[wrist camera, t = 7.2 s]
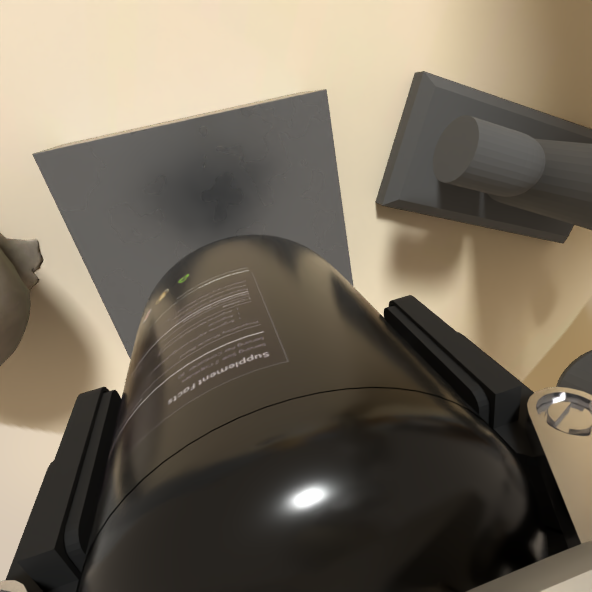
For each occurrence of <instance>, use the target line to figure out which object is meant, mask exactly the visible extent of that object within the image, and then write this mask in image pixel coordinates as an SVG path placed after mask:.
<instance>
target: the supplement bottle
mask: <svg viewBox="0 0 592 592" xmlns="http://www.w3.org/2000/svg"><path fill="white" fill-rule="evenodd" d="M548 557H549V551H548V540H547V533H546V526H545V522H544V518H543V514H542V511H541V507H540V504H539V501H538V498H537V495H536V492H535V489H534V487H533V485H532V482H531V481H530V479H529V477H528V475H527V473H526V471H525V469H524V467H523V466H522V464H521V463H520V461H519V460H518V459H517V457H516V456H515V455H514V453H513V452H512V451H511V450H510V448H509V447H508V446H507V445H506V444H505V442H504V441H503V440H502V439H501V438H500V437H499V436H498V435H497V434H496V433H495V431H494V430H493V429H492V428H491V427H490V426H489V425H488V424H487V422H486V421H485V420H484V419H483V418H482V417H481V416H480V415H479V414H478V413H477V412H476V411H475V410H474V409H473V408H472V407H471V406H470V405H469V404H468V403H467V402H466V401H465V400H464V399H463V398H462V397H461V396H460V395H459V394H458V393H457V392H456V391H455V390H454V389H453V388H452V387H451V386H450V385H449V384H448V383H447V382H446V381H445V380H444V379H443V378H442V376H441V375H440V374H439V373H438V372H437V371H436V370H435V369H434V368H433V367H432V366H431V365H430V364H429V363H428V362H427V361H426V360H425V359H424V358H423V357H422V356H421V355H420V354H419V353H418V352H417V351H416V350H415V349H414V348H413V347H412V346H411V345H410V344H409V343H408V342H407V341H406V340H405V339H404V338H403V337H402V336H401V335H400V334H399V333H398V332H397V331H396V330H395V329H394V328H393V327H392V326H391V325H390V324H389V323H388V321H387V320H386V319H385V318H384V317H383V316H382V315H381V314H380V313H379V312H378V311H377V310H376V309H375V308H374V307H373V306H372V305H371V304H370V303H369V302H368V301H367V300H366V299H365V298H364V297H363V296H362V295H361V294H360V293H359V292H358V291H357V290H356V289H355V288H354V287H353V286H352V285H351V284H350V283H349V282H348V281H347V280H346V279H345V278H344V277H343V276H342V275H341V274H340V273H339V272H338V271H337V270H336V269H335V268H334V267H333V266H332V265H331V264H330V263H329V262H328V261H326V260H325V259H324V258H323V257H321V256H320V255H319V254H317V253H316V252H314V251H313V250H311V249H309V248H308V247H306V246H304V245H302V244H299V243H297V242H294V241H292V240H289V239H285V238H281V237H277V236H270V235H256V234H255V235H240V236H234V237H229V238H225V239H221V240H218V241H215V242H212V243H209V244H207V245H205V246H203V247H200V248H198V249H197V250H195V251H193V252H191V253H190V254H188V255H187V256H185V257H184V258H182V259H181V260H180V261H178V262H177V263H176V264H175V265H174V266H173V267H172V268H170V269H169V271H168V272H167V273H166V274H165V275H164V276H163V277H162V278H161V280H160V281H159V282H158V284H157V285H156V286H155V288H154V290H153V291H152V293H151V295H150V297H149V299H148V301H147V303H146V306H145V308H144V311H143V314H142V317H141V320H140V324H139V328H138V331H137V335H136V339H135V343H134V348H133V352H132V356H131V361H130V365H129V369H128V373H127V378H126V382H125V386H124V391H123V395H122V399H121V404H120V408H119V412H118V417H117V421H116V425H115V429H114V434H113V438H112V442H111V447H110V451H109V455H108V460H107V464H106V468H105V473H104V477H103V481H102V485H101V490H100V494H99V498H98V503H97V507H96V511H95V516H94V520H93V524H92V529H91V533H90V537H89V542H88V546H87V550H86V555H85V559H84V564H83V568H82V573H81V579H80V584H79V590H78V592H466V591H469V590H471V589H473V588H476V587H478V586H481V585H483V584H485V583H488V582H490V581H492V580H495V579H497V578H500V577H502V576H504V575H507V574H509V573H512V572H514V571H516V570H519V569H521V568H524V567H526V566H528V565H531V564H533V563H536V562H538V561H540V560H543V559H545V558H548Z"/></svg>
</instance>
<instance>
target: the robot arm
mask: <svg viewBox="0 0 592 592" xmlns="http://www.w3.org/2000/svg"><path fill="white" fill-rule="evenodd" d="M384 318H385V319H386V320H387V321H388V323H389V324H390V325H391V326H392V327H393V328H394V329H395V330H396V331H397V332H398V333H399V334H400V335H401V336H402V337H403V338H404V339H405V340H406V341H407V342H408V343H409V344H410V345H411V346H412V347H413V348H414V349H415V350H416V351H417V352H418V353H419V354H420V355H421V356H422V357H423V358H424V359H425V360H426V361H427V362H428V363H429V364H430V365H431V366H432V367H433V368H434V369H435V370H436V371H437V372H438V373H439V374H440V375H441V376H442V378H443V379H444V380H445V381H446V382H447V383H448V384H449V385H450V386H451V387H452V388H453V389H454V390H455V391H456V392H457V393H458V394H459V395H460V396H461V397H462V398H463V399H464V400H465V401H466V402H467V403H468V404H469V405H470V406H471V407H472V408H473V409H474V410H475V411H476V412H477V413H478V414H479V415H480V416H481V417H482V418H483V419H484V420H485V421H486V422H487V424H488V425H489V426H490V427H491V428H492V429H493V430H494V431H495V433H496V434H497V435H498V436H499V437H500V438H501V439H502V440H503V441H504V442H505V444H506V445H507V446H508V447H509V448H510V450H511V451H512V452H513V453H514V455H515V456H516V457H517V459H518V460H519V461H520V463H521V464H522V466H523V467H524V469H525V471H526V473H527V475H528V477H529V479H530V481H531V482H532V485H533V487H534V489H535V492H536V495H537V498H538V501H539V504H540V507H541V511H542V514H543V518H544V522H545V526H546V533H547V540H548V551H549V557H548V558H545V559H543V560H540V561H538V562H536V563H533V564H531V565H528V566H526V567H524V568H521V569H519V570H516V571H514V572H512V573H509V574H507V575H504V576H502V577H500V578H497V579H495V580H492V581H490V582H488V583H485V584H483V585H481V586H478V587H476V588H473V589H471V590H469V591H466V592H592V395H590V394H588V393H586V392H583V391H580V390H576V389H572V388H564V387H551V388H544V389H542V390H539V391H536V392H535V393H534V392H533V391H531V390H530V389H529V388H528V387H527V386H525V385H524V384H523V383H522V382H520V381H519V380H518V379H517V378H515V377H514V376H513V375H512V374H511V373H509V372H508V371H507V370H506V369H504V368H503V367H502V366H501V365H499V364H498V363H497V362H496V361H494V360H493V359H492V358H491V357H490V356H488V355H487V354H486V353H485V352H483V351H482V350H481V349H480V348H478V347H477V346H476V345H475V344H473V343H472V342H471V341H470V340H469V339H467V338H466V337H465V336H464V335H462V334H460V333H459V332H456V331H455V330H454V329H453V328H451V327H450V326H449V325H448V324H446V323H445V322H444V321H443V320H442V319H440V318H439V317H438V316H437V315H435V314H434V313H433V312H432V311H431V310H429V309H428V308H427V307H426V306H424V305H423V304H422V303H421V302H419V301H418V300H417V299H416V298H415V297H413V296H412V295H409V296H405V297H402V298H399V299H395V300H392V301H390V302H389V307H387V308H385V309H384ZM120 404H121V398H120V396H119V394H118V392H117V391H116V390H112V391H109V390H108V389H107V388H106V387H102V388H98V389H95V390H92V391H88V392H85V393H82V394H80V395H79V396H78V397H77V400H76V402H75V405H74V408H73V411H72V413H71V416H70V419H69V421H68V424H67V427H66V430H65V432H64V435H63V438H62V441H61V443H60V446H59V449H58V452H57V454H56V457H55V460H54V461H53V462H52V463H51V464H50V465H49V467H48V469H47V472H46V474H45V477H44V480H43V482H42V485H41V488H40V491H39V493H38V496H37V499H36V501H35V504H34V506H33V509H32V512H31V514H30V517H29V520H28V522H27V525H26V527H25V530H24V533H23V535H22V538H21V541H20V543H19V546H18V549H17V551H16V554H15V557H14V559H13V562H12V564H11V567H10V570H9V573H8V575H7V578H6V580H4V581H1V582H0V592H78V590H79V584H80V579H81V573H82V568H83V564H84V559H85V555H86V550H87V546H88V542H89V537H90V533H91V529H92V524H93V520H94V516H95V511H96V507H97V503H98V498H99V494H100V490H101V485H102V481H103V477H104V473H105V468H106V464H107V460H108V455H109V451H110V447H111V442H112V438H113V434H114V429H115V425H116V421H117V417H118V412H119V408H120Z"/></svg>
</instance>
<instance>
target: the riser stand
mask: <svg viewBox="0 0 592 592" xmlns="http://www.w3.org/2000/svg"><path fill="white" fill-rule="evenodd" d="M33 156H34V159H35V161H36V163H37V165H38V167H39V169H40V171H41V173H42V175H43V177H44V179H45V182H46V184H47V186H48V188H49V190H50V192H51V194H52V196H53V198H54V200H55V202H56V205H57V207H58V209H59V211H60V213H61V215H62V217H63V219H64V221H65V223H66V225H67V228H68V230H69V232H70V234H71V236H72V238H73V240H74V242H75V244H76V246H77V248H78V251H79V253H80V255H81V257H82V259H83V261H84V263H85V265H86V267H87V269H88V271H89V274H90V276H91V278H92V280H93V282H94V284H95V286H96V288H97V290H98V292H99V294H100V297H101V299H102V301H103V303H104V305H105V307H106V309H107V311H108V313H109V315H110V317H111V319H112V322H113V324H114V326H115V328H116V330H117V332H118V334H119V336H120V338H121V340H122V342H123V345H124V347H125V349H126V351H127V353H128V355H129V357H130V359H131V356H132V352H133V348H134V343H135V339H136V335H137V331H138V328H139V324H140V320H141V317H142V314H143V311H144V308H145V306H146V303H147V301H148V299H149V297H150V295H151V293H152V291H153V290H154V288H155V286H156V285H157V284H158V282H159V281H160V280H161V278H162V277H163V276H164V275H165V274H166V273H167V272H168V271H169V269H170V268H172V267H173V266H174V265H175V264H176V263H177V262H178V261H180V260H181V259H182V258H184V257H185V256H187V255H188V254H190V253H191V252H193V251H195V250H197V249H198V248H200V247H203V246H205V245H207V244H209V243H212V242H215V241H218V240H221V239H225V238H229V237H234V236H240V235H255V234H256V235H270V236H277V237H281V238H285V239H289V240H292V241H294V242H297V243H299V244H302V245H304V246H306V247H308V248H309V249H311V250H313V251H314V252H316V253H317V254H319V255H320V256H321V257H323V258H324V259H325V260H326V261H328V262H329V263H330V264H331V265H332V266H333V267H334V268H335V269H336V270H337V271H338V272H339V273H340V274H341V275H342V276H343V277H344V278H345V279H346V280H347V281H348V282H349V283H350V284H351V285H352V286H353V280H352V273H351V266H350V258H349V251H348V244H347V236H346V229H345V222H344V214H343V207H342V200H341V193H340V185H339V178H338V171H337V163H336V156H335V149H334V141H333V134H332V127H331V119H330V112H329V105H328V97H327V90H326V89H325V90H317V91H309V92H301V93H296V94H292V95H287V96H282V97H278V98H273V99H269V100H264V101H260V102H255V103H250V104H246V105H241V106H237V107H232V108H228V109H223V110H219V111H214V112H209V113H205V114H200V115H196V116H191V117H187V118H182V119H178V120H173V121H168V122H164V123H159V124H155V125H150V126H146V127H141V128H136V129H132V130H127V131H123V132H118V133H114V134H109V135H105V136H100V137H95V138H91V139H86V140H82V141H77V142H73V143H68V144H64V145H60V146H57V147H53V148H50V149H47V150H44V151H41V152H37V153H34V154H33Z"/></svg>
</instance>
